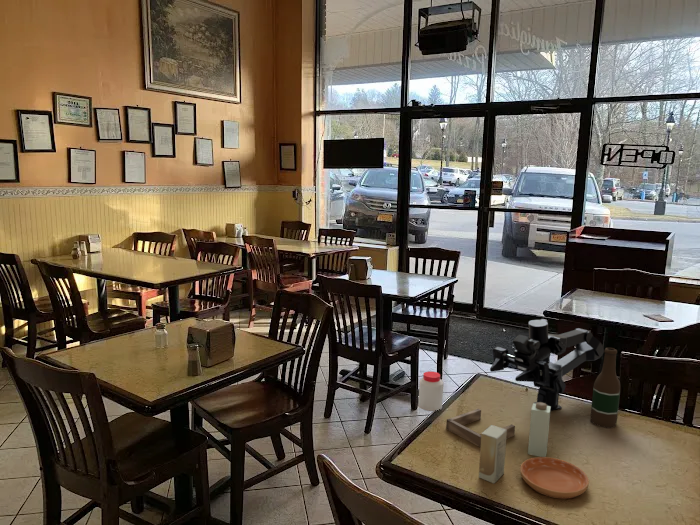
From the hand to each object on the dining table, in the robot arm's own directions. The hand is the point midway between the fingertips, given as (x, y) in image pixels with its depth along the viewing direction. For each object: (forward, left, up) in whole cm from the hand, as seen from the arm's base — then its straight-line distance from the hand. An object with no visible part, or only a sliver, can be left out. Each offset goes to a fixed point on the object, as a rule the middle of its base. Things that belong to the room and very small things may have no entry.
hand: (502, 374), depth 161 cm
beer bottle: (-32, +11, -17) cm, 38 cm away
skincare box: (+21, +20, -17) cm, 34 cm away
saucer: (+9, +29, -17) cm, 35 cm away
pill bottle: (+11, -21, -17) cm, 29 cm away
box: (+8, +1, -16) cm, 18 cm away
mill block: (+1, +16, -16) cm, 23 cm away
